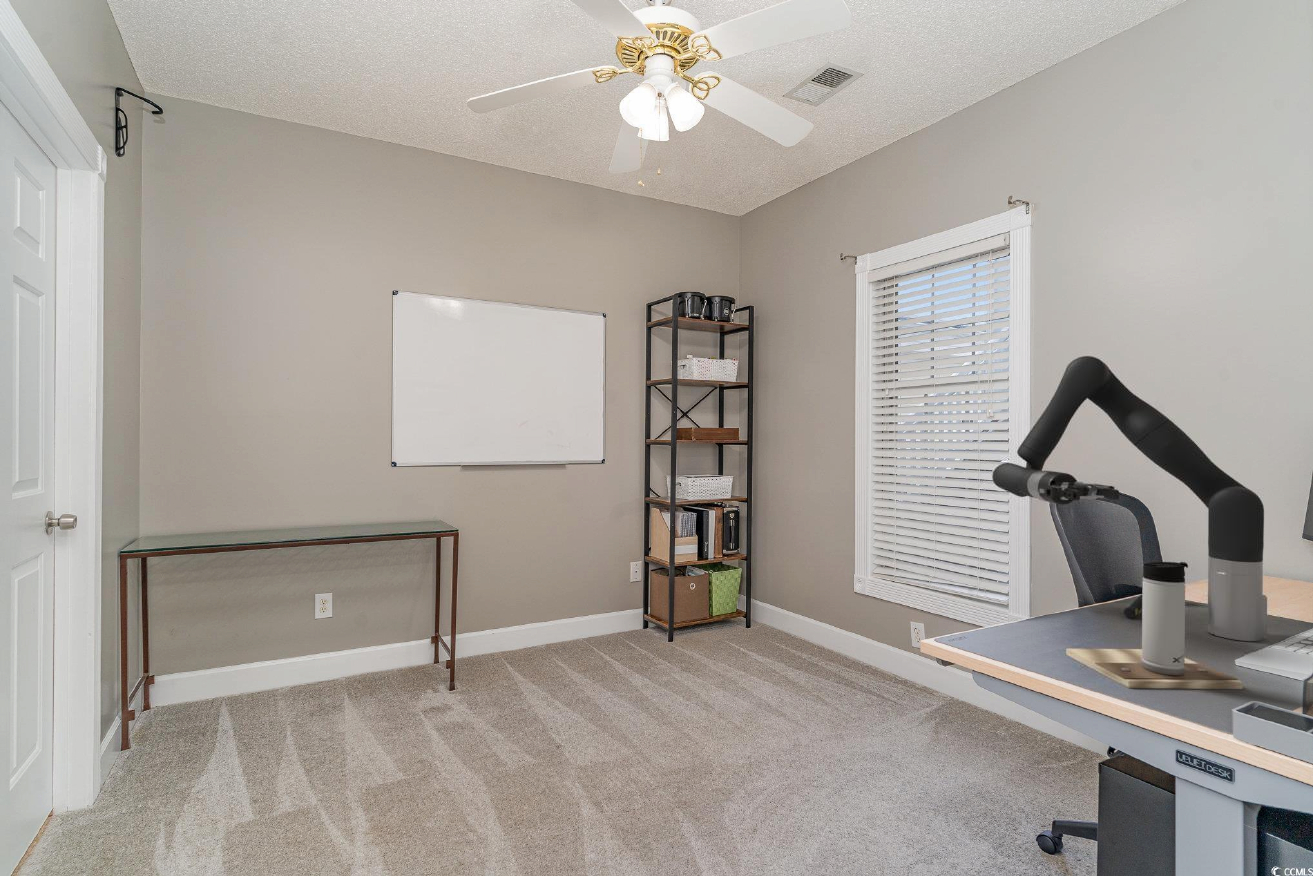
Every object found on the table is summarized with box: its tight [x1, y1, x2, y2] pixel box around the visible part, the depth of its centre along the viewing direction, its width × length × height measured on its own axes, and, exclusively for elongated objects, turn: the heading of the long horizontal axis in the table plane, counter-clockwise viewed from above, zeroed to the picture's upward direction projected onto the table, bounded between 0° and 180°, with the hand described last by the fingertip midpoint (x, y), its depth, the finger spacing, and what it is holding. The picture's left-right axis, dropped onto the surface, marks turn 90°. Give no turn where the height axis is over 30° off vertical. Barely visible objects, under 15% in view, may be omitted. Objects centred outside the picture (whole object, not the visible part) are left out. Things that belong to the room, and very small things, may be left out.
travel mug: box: [1141, 561, 1189, 676], centre depth 123 cm, size 6×7×20 cm
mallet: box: [1123, 571, 1144, 620], centre depth 172 cm, size 29×6×10 cm, turn 131°
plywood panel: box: [1065, 648, 1244, 690], centre depth 126 cm, size 20×18×2 cm
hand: (1097, 495), depth 145 cm, fingers open, 8 cm apart
